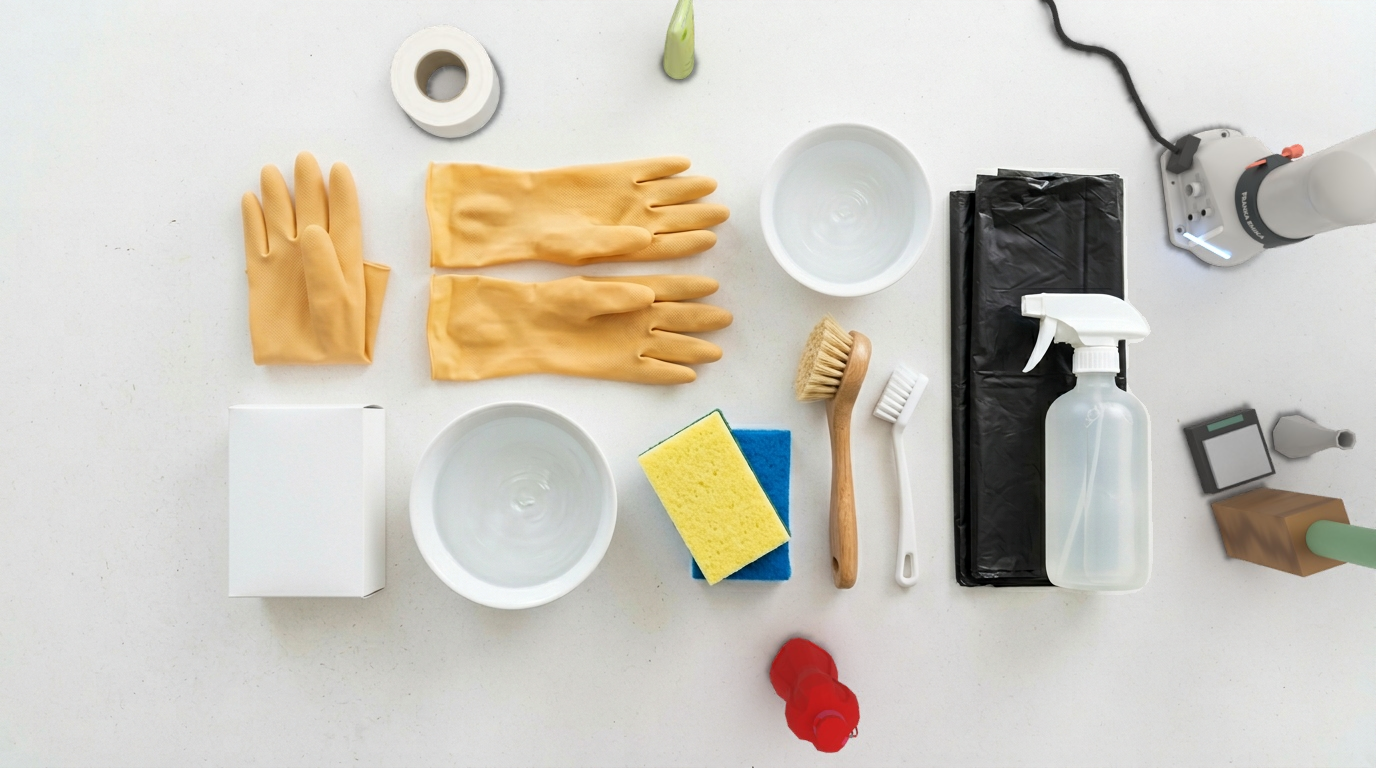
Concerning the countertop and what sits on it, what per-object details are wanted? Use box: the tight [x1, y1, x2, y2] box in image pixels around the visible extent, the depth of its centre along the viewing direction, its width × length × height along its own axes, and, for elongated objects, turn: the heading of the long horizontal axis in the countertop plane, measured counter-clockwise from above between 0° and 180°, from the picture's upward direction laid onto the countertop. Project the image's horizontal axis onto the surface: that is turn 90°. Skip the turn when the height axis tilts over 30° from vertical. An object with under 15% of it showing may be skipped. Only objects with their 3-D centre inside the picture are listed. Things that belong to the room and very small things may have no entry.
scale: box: [1183, 408, 1277, 495], centre depth 124 cm, size 11×11×3 cm
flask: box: [1272, 414, 1357, 459], centre depth 121 cm, size 7×7×10 cm
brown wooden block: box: [1210, 486, 1351, 578], centre depth 118 cm, size 9×9×15 cm
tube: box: [662, 0, 695, 80], centre depth 115 cm, size 6×5×20 cm
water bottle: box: [769, 637, 861, 754], centre depth 111 cm, size 9×11×25 cm
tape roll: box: [389, 24, 501, 139], centre depth 121 cm, size 16×16×6 cm
